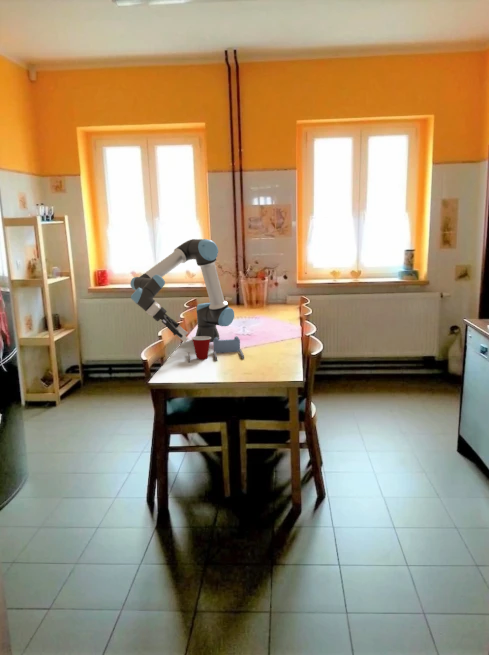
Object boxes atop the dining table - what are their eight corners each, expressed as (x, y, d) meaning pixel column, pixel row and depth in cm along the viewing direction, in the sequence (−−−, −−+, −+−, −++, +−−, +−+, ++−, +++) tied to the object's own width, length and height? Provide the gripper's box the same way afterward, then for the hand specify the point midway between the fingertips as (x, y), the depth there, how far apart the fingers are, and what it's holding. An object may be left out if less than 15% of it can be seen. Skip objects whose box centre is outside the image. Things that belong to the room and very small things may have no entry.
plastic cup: (215, 356, 279) (214, 335, 276) (207, 361, 269) (206, 339, 266) (197, 355, 282) (196, 334, 280) (189, 360, 272) (187, 338, 270)
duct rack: (187, 353, 285) (186, 339, 283) (240, 350, 288) (239, 336, 287) (188, 362, 268) (187, 346, 266) (244, 359, 271) (243, 343, 269)
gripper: (153, 312, 279) (181, 337, 284) (150, 321, 255) (181, 348, 259) (162, 302, 278) (190, 327, 283) (160, 310, 254) (191, 337, 259)
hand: (186, 337), depth 271 cm, fingers open, 13 cm apart
